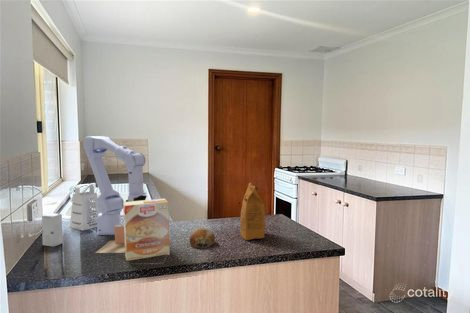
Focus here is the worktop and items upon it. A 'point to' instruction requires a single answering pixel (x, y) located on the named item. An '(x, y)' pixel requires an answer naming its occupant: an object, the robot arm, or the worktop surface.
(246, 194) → the coffee package
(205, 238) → the bread roll
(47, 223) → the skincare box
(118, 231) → the tile
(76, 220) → the grater
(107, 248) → the mat
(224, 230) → the worktop surface
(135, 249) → the coffeecake box
